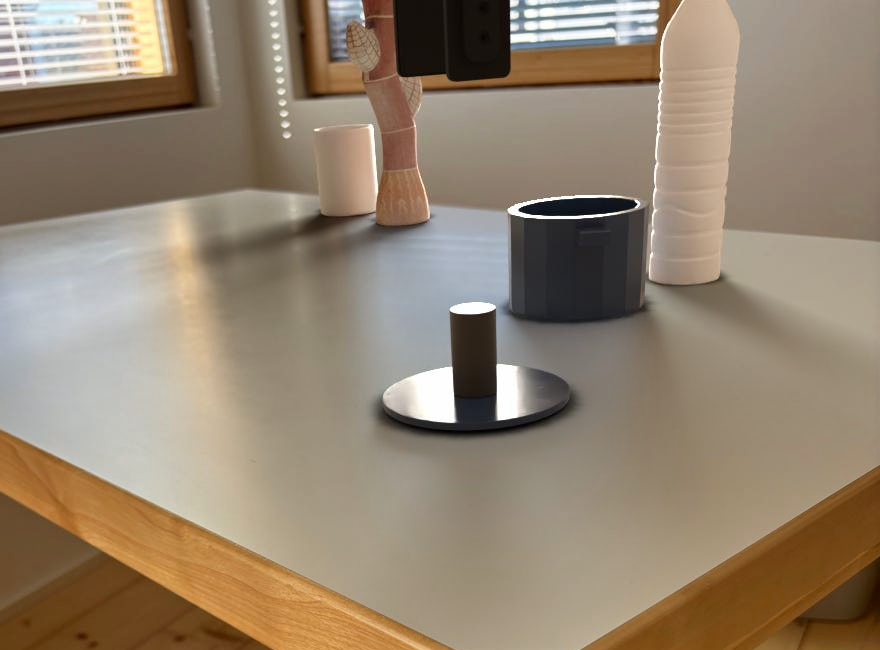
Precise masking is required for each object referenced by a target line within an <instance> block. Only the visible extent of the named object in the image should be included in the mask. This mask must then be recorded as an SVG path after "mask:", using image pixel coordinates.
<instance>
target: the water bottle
mask: <svg viewBox="0 0 880 650" xmlns="http://www.w3.org/2000/svg"><path fill="white" fill-rule="evenodd" d="M661 38H662V39H661V45H660V69H661V71H660V72H659V79H660V82H659V88H658V89H659V90H660V91H659V94H658V100H659V103H658V106H657V107H658V108H657V109H658V114H657V121H658V123H657V127H656V131H657V134H656V143H655V161H656V164H655V166H654V173H653V175H654V177H653V182H654V187H655V188H654V190H653V197H652V207H653V213H652V216H651V227H652V231H651V236H650V251H651V253H650V255H649V268H648V279H649V280H650V281H651V282H654V283H658V284H663V285H673V286H675V285H676V286H686V285H687V286H688V285H700V284H706V283H709V282H710V283H711V282H715V281H716V280H718V279H719V278H720V274H721V263H722V253H721V252H722V251H721V249H722V246H723V239H724V229H723V226H724V223H725V217H726V216H725V215H726V200H725V198H726V197H727V194H728V193H727V192H728V189H727V188H728V187H727V182H728V180H729V179H728V178H729V172H730V171H729V169H730V162H729V158H730V156H731V155H730V154H731V147H732V130H731V129H732V127H733V119H732V118H733V117H734V109H733V108H734V105H735V99H734V97H735V94H736V88H735V86H736V83H737V78H736V75H737V72H738V67H737V64H738V61H739V52H740V43H741V34H740V27H739V23H738V20H737V19H736V17H735V15H734V13H733V11H732V9H731V7H730V5H729V3H728V2H727V0H682V1H681V2H680V4H679V6H678V7H677V9H676V10H675V12H674V14H673V15H672V17H671V19H670V21H669V22H668V23H667V25H666V27H665V29H664V32H663V35H662V37H661Z"/></svg>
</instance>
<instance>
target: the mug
mask: <svg viewBox="0 0 880 650" xmlns="http://www.w3.org/2000/svg"><path fill="white" fill-rule="evenodd" d="M312 132H313V133H312V135H313V145H314V155H315V164H316V165H315V167H316V174H317V184H318V185H317V186H318V196H319V208H320V209H319V210H320V213H321V215H322V216H326V217H353V216H362V215H367V214H372V213H376V201H377V194H378V189H379V187H378V178H377V177H378V176H377V175H378V174H377V163H376V151H375V150H376V149H375V138H374V137H375V136H374V127H373V125H372V124H345V125H332V126H324V127H319V128H315V129H313V131H312Z"/></svg>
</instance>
